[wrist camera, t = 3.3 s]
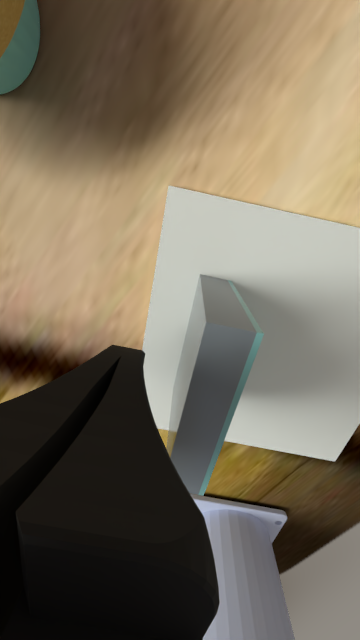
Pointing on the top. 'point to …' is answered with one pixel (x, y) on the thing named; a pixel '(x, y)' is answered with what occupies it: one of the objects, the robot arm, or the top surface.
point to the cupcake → (17, 41)
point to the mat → (265, 317)
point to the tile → (210, 378)
